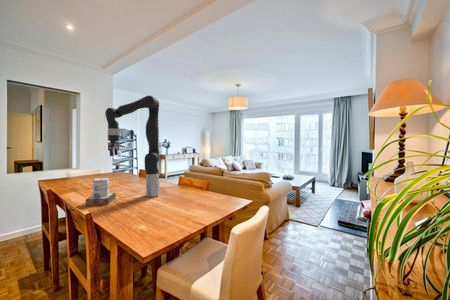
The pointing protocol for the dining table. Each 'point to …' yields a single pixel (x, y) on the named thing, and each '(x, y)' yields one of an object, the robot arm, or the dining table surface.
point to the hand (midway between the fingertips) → (113, 155)
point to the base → (101, 200)
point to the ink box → (100, 187)
